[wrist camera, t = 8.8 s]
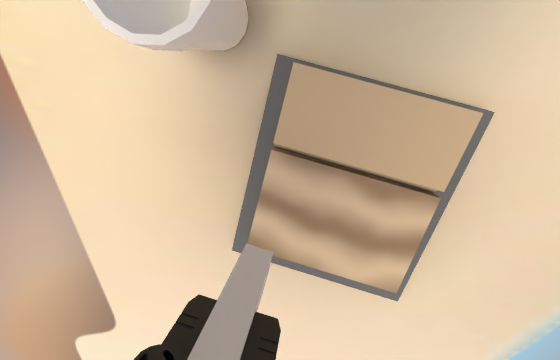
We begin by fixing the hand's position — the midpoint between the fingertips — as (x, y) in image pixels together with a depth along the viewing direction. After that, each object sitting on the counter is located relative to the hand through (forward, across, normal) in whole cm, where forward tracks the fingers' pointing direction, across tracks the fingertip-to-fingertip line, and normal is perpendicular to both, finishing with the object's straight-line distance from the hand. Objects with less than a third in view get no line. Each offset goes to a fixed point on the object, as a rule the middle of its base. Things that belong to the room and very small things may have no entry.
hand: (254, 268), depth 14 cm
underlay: (+19, +6, 0) cm, 20 cm away
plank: (+17, +6, -4) cm, 19 cm away
